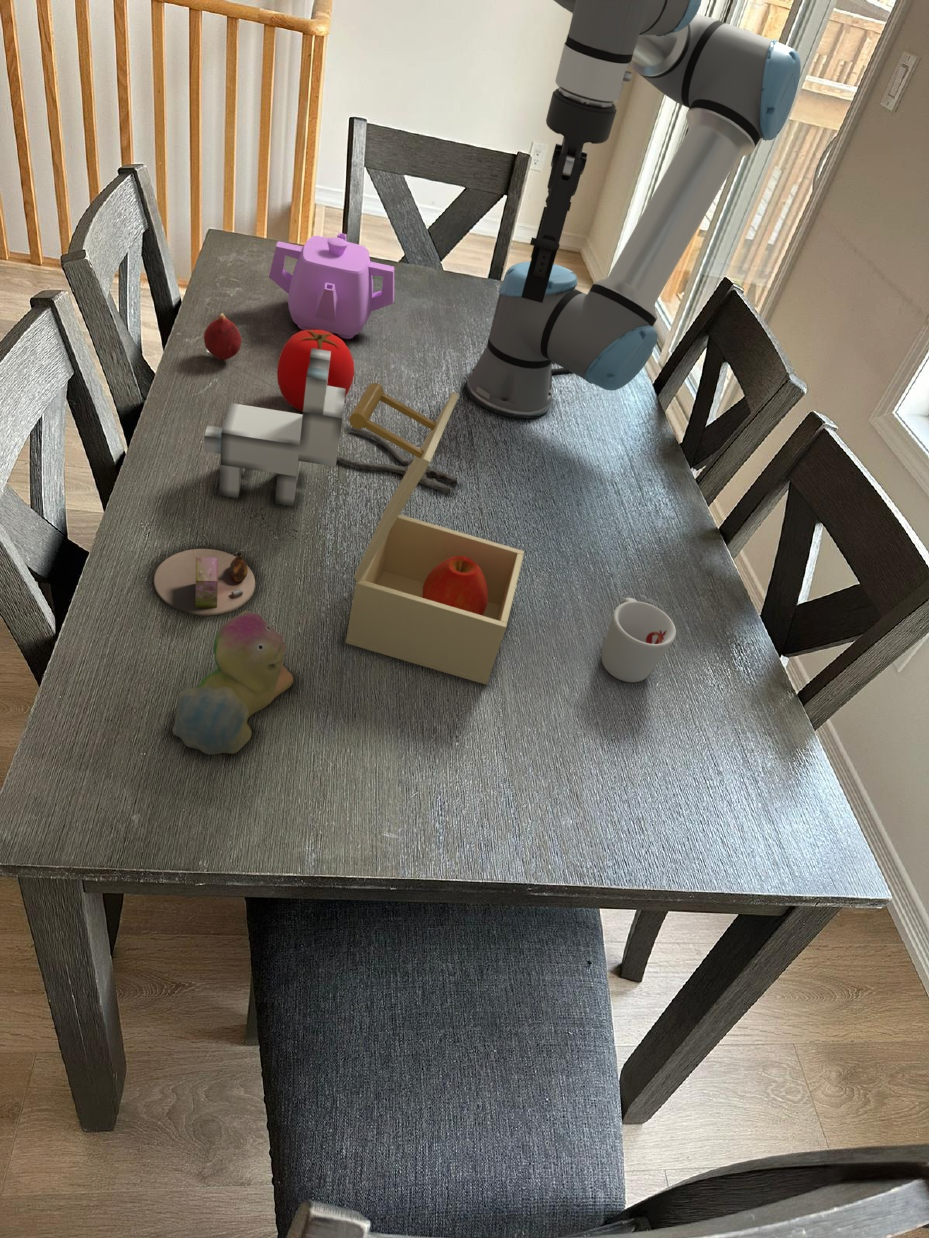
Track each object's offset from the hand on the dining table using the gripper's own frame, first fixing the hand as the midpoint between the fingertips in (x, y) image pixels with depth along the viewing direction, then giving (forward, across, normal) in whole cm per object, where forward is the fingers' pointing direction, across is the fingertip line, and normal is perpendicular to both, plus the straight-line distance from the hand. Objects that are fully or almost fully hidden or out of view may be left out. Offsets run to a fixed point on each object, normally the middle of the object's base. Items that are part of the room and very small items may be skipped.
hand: (536, 278), depth 114 cm
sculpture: (+33, -54, +20) cm, 66 cm away
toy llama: (+33, -14, +29) cm, 46 cm away
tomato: (+33, +10, +29) cm, 45 cm away
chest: (+33, -33, +2) cm, 47 cm away
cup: (+33, -30, -23) cm, 50 cm away
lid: (+14, -33, +8) cm, 36 cm away
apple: (+32, -33, 0) cm, 46 cm away
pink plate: (+33, -36, +30) cm, 57 cm away
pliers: (+33, 0, +13) cm, 35 cm away
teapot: (+33, +39, +34) cm, 62 cm away
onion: (+33, +16, +46) cm, 59 cm away
